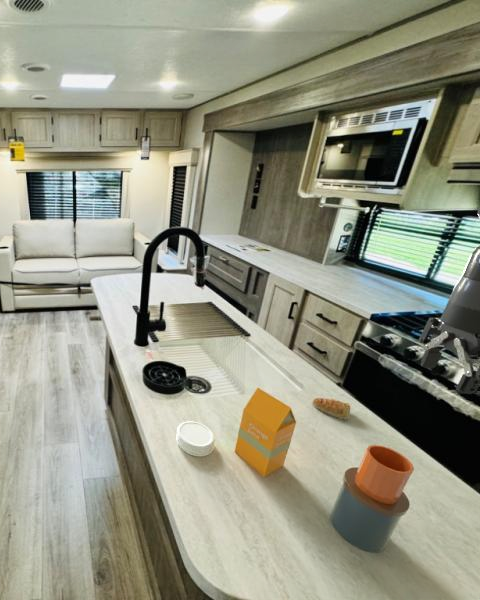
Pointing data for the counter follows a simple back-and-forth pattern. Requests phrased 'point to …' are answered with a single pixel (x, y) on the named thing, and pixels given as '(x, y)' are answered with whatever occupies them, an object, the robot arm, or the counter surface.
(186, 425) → the white round tub
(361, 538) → the jar
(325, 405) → the pastry
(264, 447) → the orange juice
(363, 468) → the cup
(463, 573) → the counter surface
